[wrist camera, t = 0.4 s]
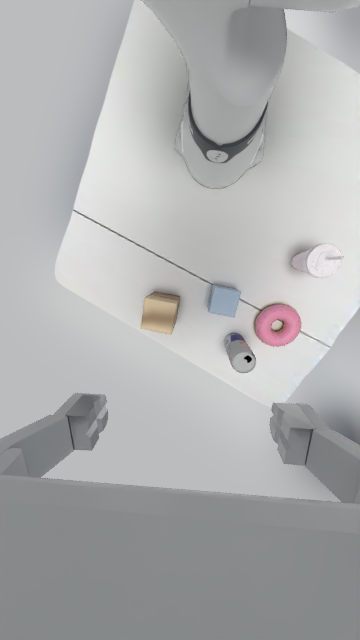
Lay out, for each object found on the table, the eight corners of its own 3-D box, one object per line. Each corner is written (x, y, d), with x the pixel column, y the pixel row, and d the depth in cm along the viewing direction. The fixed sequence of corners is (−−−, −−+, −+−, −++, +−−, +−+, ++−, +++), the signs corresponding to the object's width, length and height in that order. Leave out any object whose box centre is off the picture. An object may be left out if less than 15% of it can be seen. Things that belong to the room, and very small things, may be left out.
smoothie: (319, 258, 48) (368, 255, 34) (300, 280, 49) (339, 286, 36) (298, 241, 47) (340, 232, 33) (279, 265, 49) (311, 265, 35)
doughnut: (305, 313, 51) (314, 317, 47) (281, 349, 54) (288, 356, 50) (266, 295, 51) (272, 298, 47) (245, 332, 54) (249, 338, 50)
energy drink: (248, 343, 54) (262, 364, 43) (232, 354, 56) (241, 378, 44) (235, 328, 54) (246, 346, 42) (219, 341, 55) (226, 361, 43)
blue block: (212, 284, 51) (214, 286, 45) (235, 288, 51) (240, 291, 45) (207, 307, 53) (208, 312, 47) (230, 311, 53) (234, 317, 47)
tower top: (149, 294, 48) (144, 297, 43) (178, 300, 48) (176, 304, 43) (145, 322, 50) (140, 328, 45) (173, 327, 50) (171, 334, 45)
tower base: (154, 291, 53) (149, 294, 48) (180, 296, 53) (178, 299, 48) (150, 316, 55) (145, 321, 50) (175, 321, 55) (173, 327, 50)
